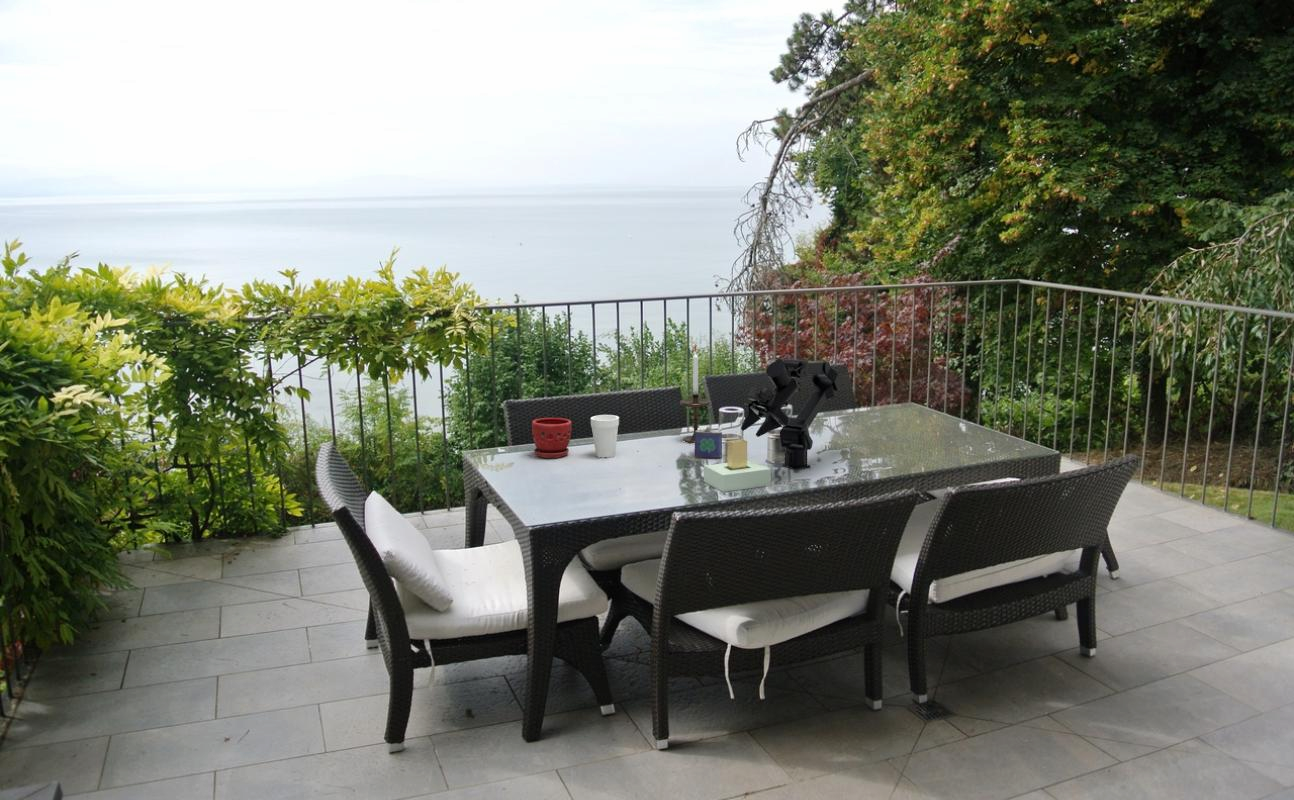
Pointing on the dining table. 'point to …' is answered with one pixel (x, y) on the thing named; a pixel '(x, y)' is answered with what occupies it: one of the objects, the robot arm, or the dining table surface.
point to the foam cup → (605, 434)
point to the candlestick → (695, 400)
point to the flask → (708, 444)
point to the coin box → (737, 476)
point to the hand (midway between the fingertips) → (749, 432)
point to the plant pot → (551, 437)
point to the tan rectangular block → (736, 454)
